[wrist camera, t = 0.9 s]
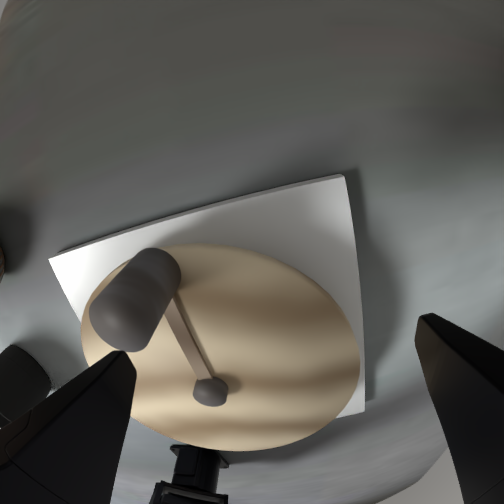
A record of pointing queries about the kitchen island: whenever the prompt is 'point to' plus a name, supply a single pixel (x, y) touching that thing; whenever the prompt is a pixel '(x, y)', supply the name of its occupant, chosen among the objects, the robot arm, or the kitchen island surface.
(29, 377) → the pen holder
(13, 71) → the kitchen island surface
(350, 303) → the base plate
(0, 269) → the vase
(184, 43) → the kitchen island surface
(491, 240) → the kitchen island surface
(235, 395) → the handwheel
